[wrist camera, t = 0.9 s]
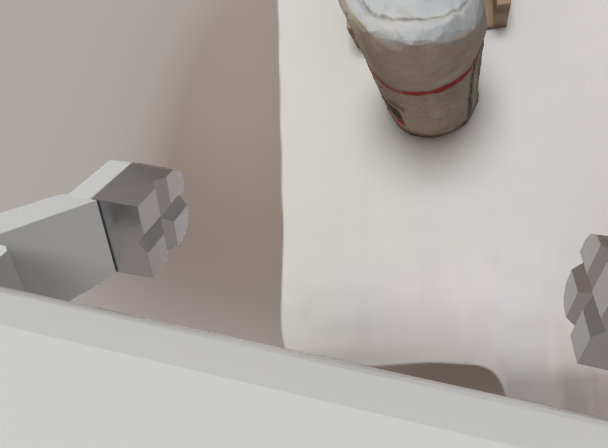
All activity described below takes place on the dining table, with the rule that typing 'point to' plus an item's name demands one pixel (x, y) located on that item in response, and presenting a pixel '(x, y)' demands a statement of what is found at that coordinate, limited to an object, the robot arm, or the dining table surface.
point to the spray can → (422, 58)
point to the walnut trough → (495, 12)
